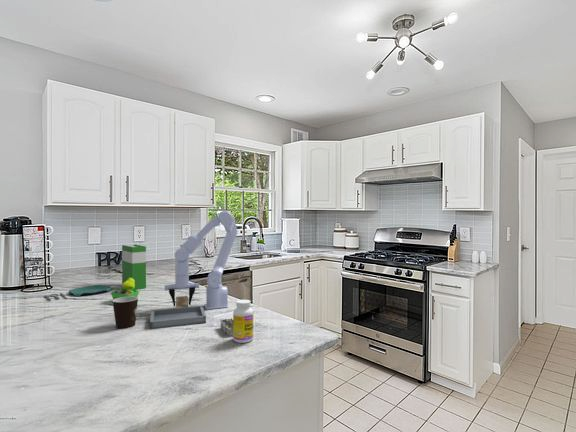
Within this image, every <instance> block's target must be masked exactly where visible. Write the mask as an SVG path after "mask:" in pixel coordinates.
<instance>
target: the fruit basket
mask: <svg viewBox="0 0 576 432" xmlns="http://www.w3.org/2000/svg"><path fill="white" fill-rule="evenodd" d="M134 283H135V280H134V279H133V278H128V279H127V281H125V282H124V283H123V284H121V285H122V288H123V289H122V288H119V289H117V290H114V291H111V292H110V295H111V296H112V301H113V300H114V299H116V298H121V297H138V296H139V294H140V290H133V289H134V287H135V284H134ZM138 298H139V297H138Z"/></svg>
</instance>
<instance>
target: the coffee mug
mask: <svg viewBox="0 0 576 432" xmlns="http://www.w3.org/2000/svg"><path fill="white" fill-rule="evenodd" d="M138 302H139V297H121V298H116V299H114V300H113V299H112V308H113V315H114V322H115V328H116V329H117V330H118V329H119V330H124V329H125V330H126V329H129V328H133V327H134V326H136V320H137V319H136V318H137V312H138V311H137V309H138Z"/></svg>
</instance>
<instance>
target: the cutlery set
mask: <svg viewBox="0 0 576 432" xmlns="http://www.w3.org/2000/svg"><path fill="white" fill-rule="evenodd" d="M111 289H112V287H111V285H110V286H109V285H106V284H95V285H89V286H84V287H83V286H82V287H76V288H72V289H70V290H69V291H68V294H70V295H74V296H75V297H78V298H79V297H80V296H83V295H91V294H92V295H93V294H99V293H103V292H108V291H111ZM58 295H61V297H63V298H64V299H65V300H66V299H68V298H67V296H66V295H65V294H64V293H63V292H62V293H61V292H60V293H59V294H58V293H51V294H50V296H49V295H43V298H44V299H46V300H47V301H49V302H51V300H52V299H51V298H50V297H52V298H53V297H54V298H56V299H57V300H60V297H58Z"/></svg>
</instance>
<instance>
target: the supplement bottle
mask: <svg viewBox="0 0 576 432" xmlns="http://www.w3.org/2000/svg"><path fill="white" fill-rule="evenodd" d="M235 304H236V305H235V306H236V308H235V309H234V310H233V312H232V313H233V315H232V320H233V336H232V339H233V341H234V342H236V343H240V344H246V343H249V342H250V343H251V342H252V341H253V339H254V310H253V309H252V307H251V304H252V303H251V300H249V299H238V300H236V303H235Z"/></svg>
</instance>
